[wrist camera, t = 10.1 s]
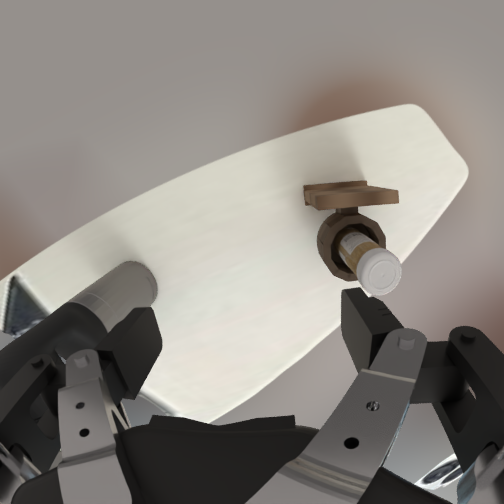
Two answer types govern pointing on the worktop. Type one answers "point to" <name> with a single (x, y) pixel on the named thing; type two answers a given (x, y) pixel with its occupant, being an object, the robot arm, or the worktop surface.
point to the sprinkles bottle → (368, 261)
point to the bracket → (346, 217)
